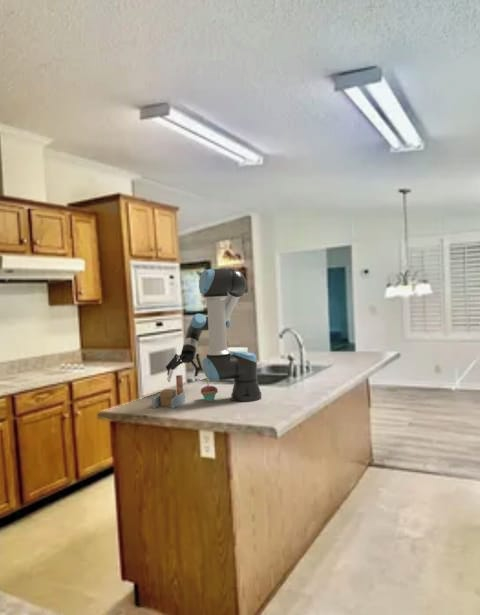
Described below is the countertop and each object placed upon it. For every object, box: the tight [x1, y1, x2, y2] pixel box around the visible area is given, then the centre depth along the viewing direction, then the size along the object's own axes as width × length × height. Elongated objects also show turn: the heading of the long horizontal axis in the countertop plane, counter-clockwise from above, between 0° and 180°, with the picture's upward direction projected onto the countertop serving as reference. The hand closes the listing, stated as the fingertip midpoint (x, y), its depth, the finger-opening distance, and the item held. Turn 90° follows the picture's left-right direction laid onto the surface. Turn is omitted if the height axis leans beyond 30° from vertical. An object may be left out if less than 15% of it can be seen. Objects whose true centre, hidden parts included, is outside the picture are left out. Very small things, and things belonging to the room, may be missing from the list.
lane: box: [151, 392, 186, 410], centre depth 237 cm, size 14×11×4 cm
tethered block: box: [159, 374, 184, 407], centre depth 244 cm, size 20×6×12 cm, turn 165°
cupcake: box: [200, 378, 219, 402], centre depth 244 cm, size 9×8×12 cm
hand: (180, 380), depth 254 cm, fingers open, 13 cm apart
